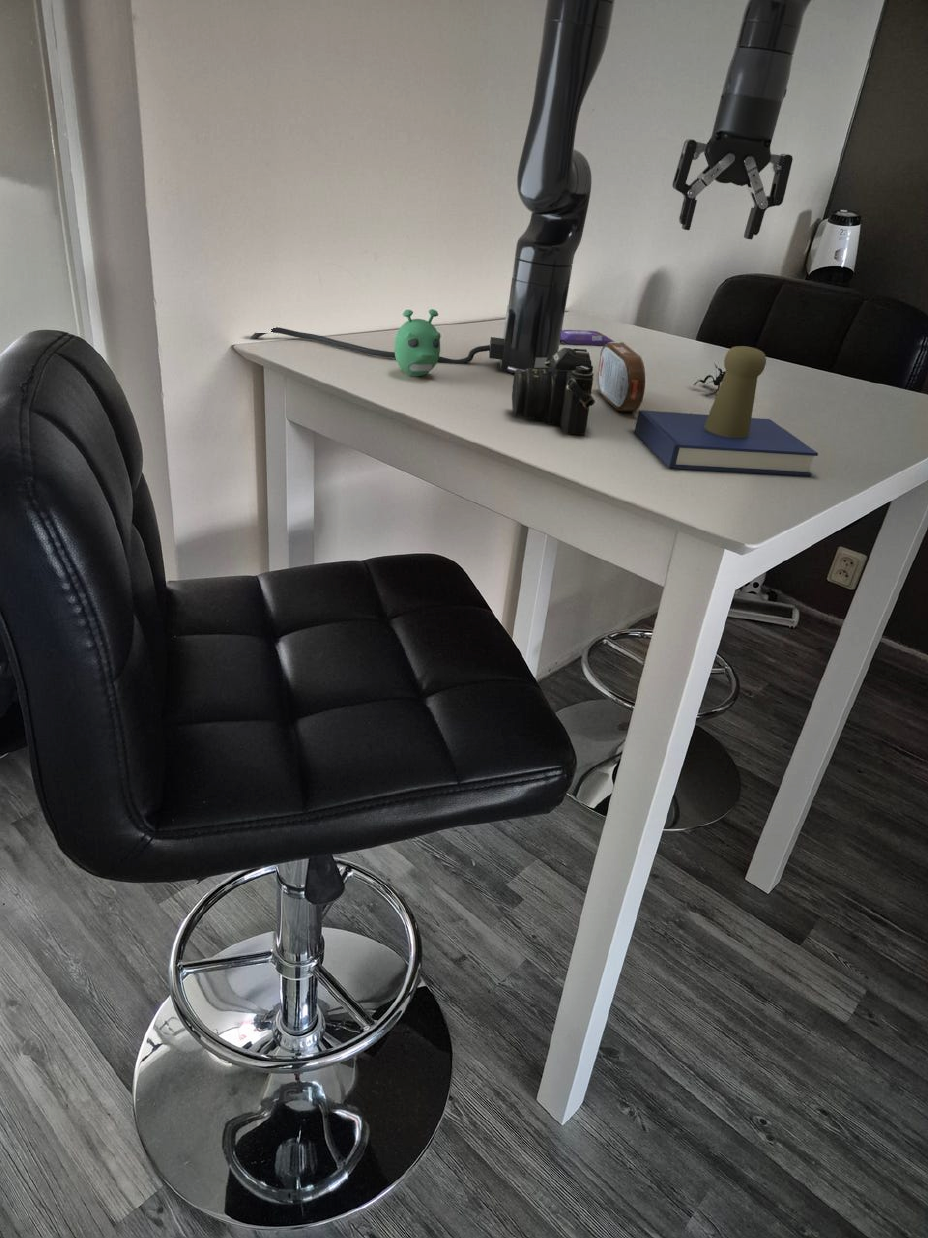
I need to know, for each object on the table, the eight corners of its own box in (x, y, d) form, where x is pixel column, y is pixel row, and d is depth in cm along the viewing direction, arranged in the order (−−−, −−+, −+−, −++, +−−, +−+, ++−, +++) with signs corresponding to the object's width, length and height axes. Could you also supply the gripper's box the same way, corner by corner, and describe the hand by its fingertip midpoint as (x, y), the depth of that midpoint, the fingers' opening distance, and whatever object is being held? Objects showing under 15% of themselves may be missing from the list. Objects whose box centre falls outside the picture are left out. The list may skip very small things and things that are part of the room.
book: (668, 468, 112) (674, 444, 110) (633, 432, 124) (638, 409, 122) (810, 476, 116) (818, 453, 114) (763, 440, 128) (770, 418, 126)
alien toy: (403, 383, 132) (408, 314, 127) (386, 369, 138) (390, 302, 133) (446, 383, 135) (453, 315, 130) (427, 369, 141) (433, 304, 136)
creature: (694, 401, 146) (744, 398, 145) (694, 368, 144) (745, 365, 142) (692, 389, 153) (739, 387, 151) (692, 358, 151) (741, 355, 149)
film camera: (486, 398, 130) (495, 329, 125) (560, 399, 134) (572, 332, 129) (536, 440, 116) (548, 364, 111) (617, 439, 120) (633, 366, 115)
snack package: (562, 334, 166) (551, 328, 170) (560, 344, 167) (550, 338, 171) (616, 336, 170) (604, 330, 174) (614, 346, 171) (602, 340, 175)
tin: (640, 419, 130) (652, 362, 126) (620, 418, 129) (632, 360, 125) (609, 389, 143) (619, 336, 138) (590, 388, 142) (600, 335, 138)
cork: (722, 438, 115) (745, 353, 109) (694, 423, 119) (715, 341, 114) (758, 437, 117) (782, 354, 112) (729, 422, 122) (751, 342, 116)
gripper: (799, 103, 113) (761, 238, 121) (691, 85, 113) (659, 222, 121) (817, 103, 107) (775, 245, 115) (703, 84, 106) (669, 229, 114)
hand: (716, 233), depth 118 cm, fingers open, 8 cm apart
